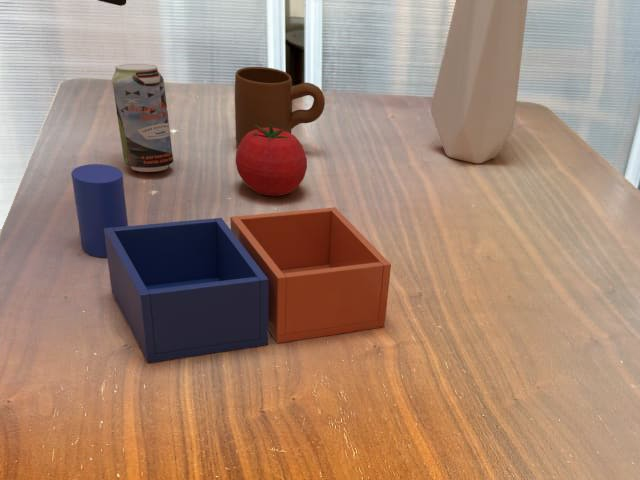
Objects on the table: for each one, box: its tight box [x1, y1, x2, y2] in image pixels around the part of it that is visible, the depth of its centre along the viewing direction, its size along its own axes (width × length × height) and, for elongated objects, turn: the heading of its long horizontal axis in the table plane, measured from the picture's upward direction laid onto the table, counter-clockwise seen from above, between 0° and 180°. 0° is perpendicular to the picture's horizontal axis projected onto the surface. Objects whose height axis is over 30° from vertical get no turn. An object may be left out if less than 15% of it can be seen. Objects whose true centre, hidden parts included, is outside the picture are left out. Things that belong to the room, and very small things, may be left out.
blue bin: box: [104, 217, 269, 364], centre depth 84 cm, size 12×14×7 cm
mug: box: [234, 66, 326, 147], centre depth 119 cm, size 12×8×9 cm, turn 87°
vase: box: [430, 0, 529, 165], centre depth 118 cm, size 12×12×33 cm
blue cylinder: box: [70, 163, 129, 259], centre depth 93 cm, size 5×5×8 cm
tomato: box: [235, 125, 308, 197], centre depth 109 cm, size 9×9×8 cm
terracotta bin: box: [229, 206, 392, 344], centre depth 89 cm, size 12×14×7 cm
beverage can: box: [111, 63, 174, 173], centre depth 109 cm, size 6×7×12 cm
